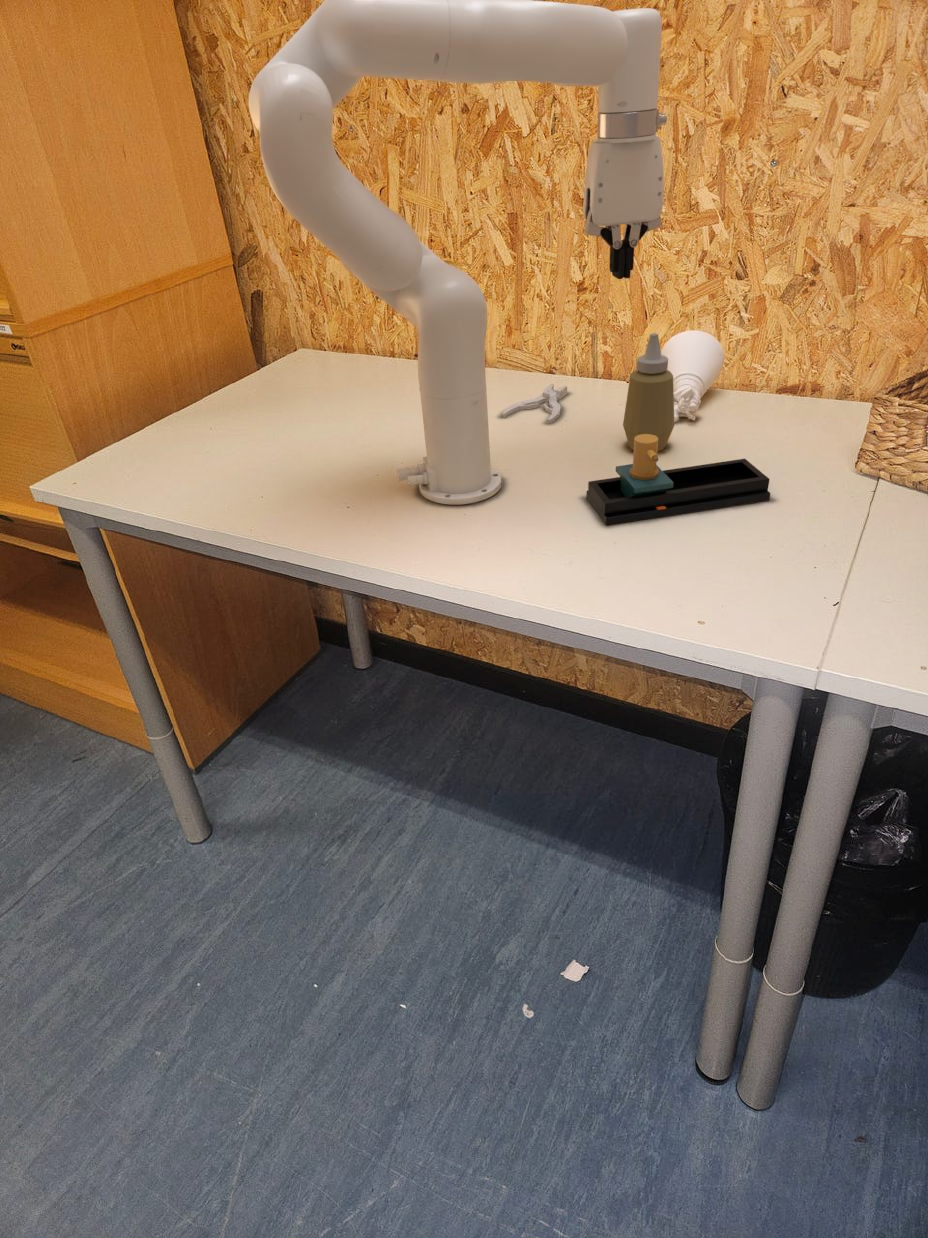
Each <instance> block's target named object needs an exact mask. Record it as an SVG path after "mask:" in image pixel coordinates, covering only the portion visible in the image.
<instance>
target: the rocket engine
mask: <svg viewBox="0 0 928 1238" xmlns="http://www.w3.org/2000/svg"><path fill="white" fill-rule="evenodd" d="M661 355H663V356H666V357H667V358H668V368H667V370H668V371H670V372H671V373H672V375H673V392H674V423H677V422H678V421H680V418H682V417H685V418H687V419H688V420H691V421H695V420H696V419H697V418H696V417H697V416H695V415H693V414H692V412H696V411H697V410H699V407H700V406H701V403H702V401H701V399H702V397H703V396H704V394H705V393H706V392H708V390H709V389H710V388H711V387H712V385H713V384H714V383H715V382H716V381H717V379H718V377H719V375H720V374H721V372H722V370H723V367H724V364H725V351H724V348H723V346H722V344H721V342H720V341H719V340H718V339H717V338H716V337H715V336H714V335H712V334H710V333H708V332H705V331H702V330H686V331H685V330H684V331H682V332H681V331H680V332H679V333H677V334H675V335H673V336H672V337H671V338H669V339H668V340H667V341H666V342H665V344H664V345H663V346H662V348H661Z"/></svg>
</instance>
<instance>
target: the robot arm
mask: <svg viewBox="0 0 928 1238" xmlns="http://www.w3.org/2000/svg"><path fill="white" fill-rule="evenodd" d="M662 33H663V20H662V16H661V13H660V12H659V10H657V9H655V8H652V7H651V8H650V7H641V8H629V9H628V8H627V9H619V10H614V11H612V10H610V9H608V8H607V7H604V6H603V7H602V6H595V5H589V4H580V3H579V4H577V3H567V2H558V1H546V0H324V1H322V3H321V4H320V5H319V6H318V7H317V9H315V11H314V12H313V13H312V14H311V15H310V17H309V18H307V20H306V21H305V22H304V23H303V25H301V27H300V28H299V29H298V30H297V31H296V32H295V33H294V34H293V35H292V37H290V38H289V40H287V42H286V43H285V44H284V45H283V46H282V47H281V48H280V49H279V51H278V52H277V53H276V54H275V55H274V56H273V57H272V58H271V59H270V60H269V61H268V62H267V63H266V65H264V66H263V68H262V69H261V70H260V71H259V72H258V74H257V75H256V76H255V78H254V79H253V81H252V83H251V86H250V89H249V93H248V109H249V110H248V111H249V114H250V115H249V116H250V118H251V121H252V123H253V125H254V127H255V128H256V130H257V131H258V132H259V147H260V148H259V149H260V155H261V160H262V165H263V169H264V172H265V176H266V179H267V181H268V183H269V186H270V187H271V190H272V192H273V193H274V195H275V197H276V198H277V200H278V201H279V203H280V204H281V205H282V206H283V208H284V209H285V210H286V212H287V213H289V215H290V216H291V217H292V218H293V219H294V220H295V221H296V222H297V223H298V224H299V225H301V226H302V227H303V228H304V229H305V230H306V231H307V232H308V233H309V234H311V235H312V236H313V237H314V238H315V239H317V240H318V242H319V243H321V244H322V245H323V246H324V247H325V248H326V249H328V250H329V251H330V252H331V253H332V254H333V255H334V256H336V257H337V258H338V259H339V261H340V263H341V265H342V266H343V267H344V268H345V270H346V271H347V272H349V273H350V274H351V275H352V276H353V277H354V278H356V280H358V281H359V282H360V283H361V284H363V285H364V286H365V287H366V288H367V289H369V291H371V292H372V293H374V294H375V295H376V296H377V297H378V298H379V299H381V300H382V301H384V302H385V303H386V304H387V305H388V306H389V307H390V308H392V309H393V310H394V311H396V312H397V313H398V314H399V315H400V316H402V317H403V318H404V319H405V320H406V321H408V322H409V323H410V324H411V325H412V326H414V327H415V328H416V330H417V337H418V338H417V339H418V341H417V343H418V345H417V346H418V347H417V377H418V386H419V392H420V402H421V413H422V422H423V432H424V441H425V452H426V454H425V455H426V456H423V457H422V461H423V462H422V463H417V465H416V466H412V467H411V466H407V467H399V468H397V469H396V473H397V479H398V482H404V481H407V484H408V486H415V485H418V486H419V492H420V494H421V495H422V497H424V498H425V499H427V500H429V501H431V502H434V503H437V504H443V505H453V506H454V505H455V506H457V505H467V504H469V505H470V504H475V503H478V502H481V501H485V500H487V499H489V498H491V497H493V496H494V495H496V494H497V493H498V492H499V491H500V490H501V488H502V475H501V474H500V473H499V472H498V471H497V470H496V469H495V468H493V467H491V450H490V449H491V447H490V432H489V412H488V411H489V410H488V409H489V408H488V394H487V380H486V376H487V375H486V341H487V340H486V339H487V329H488V305H487V301H486V297H485V294H484V292H483V290H482V289H481V287H480V285H479V284H478V283H477V281H476V280H475V279H474V278H473V277H472V276H470V275H469V274H468V273H466V271H465V272H464V271H463V270H461V269H459V268H458V267H456V266H454V265H452V264H450V263H447V262H446V261H444V260H443V259H442V258H440V257H439V256H438V255H437V254H435V252H433V250H432V249H430V248H429V247H428V246H427V245H426V244H425V243H424V242H422V240H420V239H419V237H418V235H417V233H416V231H415V230H414V228H413V227H412V226H411V225H410V224H409V222H408V221H407V220H406V219H405V218H404V217H403V216H401V215H400V214H398V213H397V212H395V211H393V210H392V209H391V208H390V207H389V206H387V204H386V203H384V202H383V201H382V200H381V199H380V198H379V197H377V196H376V195H375V194H374V193H373V192H372V191H371V190H370V189H368V188H367V187H366V186H365V185H364V184H363V182H361V181H360V180H359V178H357V176H355V175H354V173H352V171H350V170H349V169H348V168H347V167H346V166H345V165H344V163H343V162H342V161H341V159H340V157H339V156H338V154H337V151H336V149H335V145H334V141H333V126H334V109H335V108H336V107H337V106H338V105H339V104H340V103H341V102H342V101H343V100H344V99H345V97H346V96H347V95H349V94H350V92H351V91H352V90H353V88H354V87H355V86H356V85H357V84H358V83H359V82H360V81H361V79H362V78H363V77H369V78H383V79H384V78H385V79H398V80H399V79H400V80H413V81H414V80H415V81H427V82H428V81H430V82H440V83H441V82H442V83H457V84H477V85H482V84H485V85H486V84H494V83H503V82H504V83H505V82H533V83H534V82H535V83H549V84H552V85H555V86H559V87H598V89H597V90H598V91H597V92H598V97H597V140H593V141H591V142H590V145H589V151H588V156H587V162H586V169H585V180H584V188H583V189H584V190H583V191H584V192H583V209H582V212H583V218H584V219H585V220H586V221H585V225H584V230H583V231H584V234H586V235H588V236H592V237H596V238H597V237H598V238H599V237H600V238H601V239H603V241H604V242H605V243H606V244H607V245H608V246H609V267H608V268H609V271H610V273H611V275H612V276H613V277H614V278H616V279H617V280H623V279H630V278H631V271H633V270H634V264H635V263H634V262H635V261H634V260H635V248H636V247H637V246H638V244H639V242H640V240H641V239H642V238H643V237H644V235H646V233H648V232H651V231H654V230H656V229H659V228H660V227H661V226H662V218H661V217H662V216H661V215H662V213H663V209H664V208H663V207H664V195H665V194H664V191H665V189H664V188H665V187H664V183H665V181H664V160H663V159H664V157H663V148H662V140H661V137H660V136H657V133H658V132H659V131H658V129H659V128H660V127H661V126H666V125H667V121H668V116H667V113H661V112H660V109H659V108H658V107H659V106H658V104H659V88H660V87H659V85H660V69H661V52H662V51H661V50H662ZM621 225H624V231H623V237H622V233H621V232H622V231H621Z"/></svg>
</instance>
